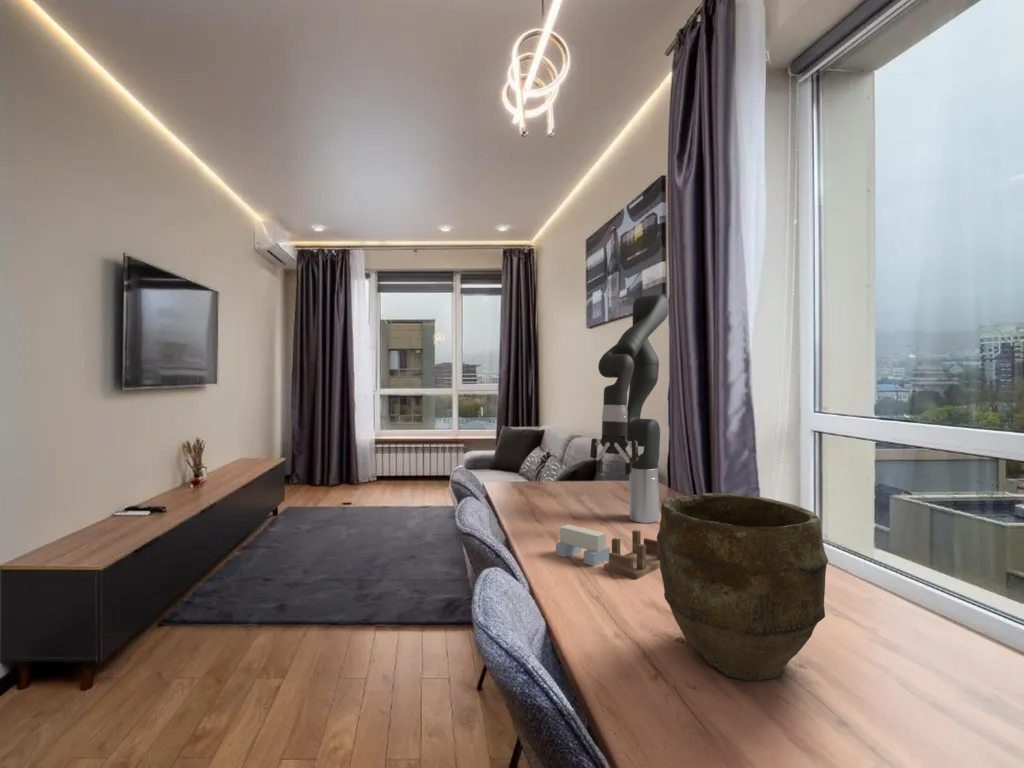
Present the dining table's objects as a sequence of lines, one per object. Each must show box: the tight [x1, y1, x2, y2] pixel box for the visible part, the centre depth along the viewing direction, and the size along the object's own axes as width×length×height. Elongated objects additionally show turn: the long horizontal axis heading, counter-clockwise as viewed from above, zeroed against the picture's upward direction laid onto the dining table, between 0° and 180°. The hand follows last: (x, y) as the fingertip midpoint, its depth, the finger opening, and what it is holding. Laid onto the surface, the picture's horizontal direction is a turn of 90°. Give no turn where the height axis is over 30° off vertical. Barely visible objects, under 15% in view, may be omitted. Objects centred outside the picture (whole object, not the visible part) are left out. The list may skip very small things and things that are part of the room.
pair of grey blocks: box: [555, 541, 611, 567], centre depth 132 cm, size 7×12×3 cm, turn 45°
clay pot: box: [656, 492, 829, 682], centre depth 84 cm, size 25×25×25 cm
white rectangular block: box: [559, 524, 607, 552], centre depth 132 cm, size 4×12×4 cm, turn 45°
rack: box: [603, 529, 660, 580], centre depth 126 cm, size 17×9×7 cm, turn 135°
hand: (613, 474), depth 153 cm, fingers open, 8 cm apart
